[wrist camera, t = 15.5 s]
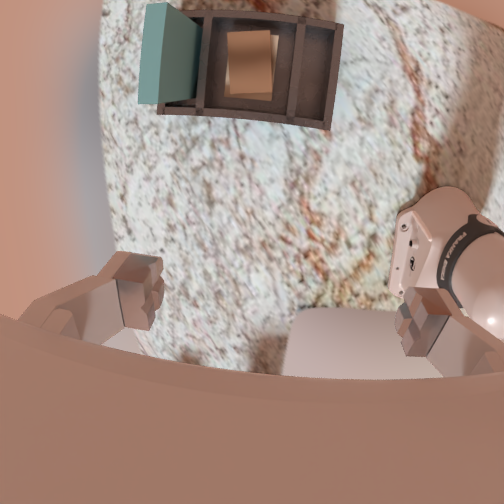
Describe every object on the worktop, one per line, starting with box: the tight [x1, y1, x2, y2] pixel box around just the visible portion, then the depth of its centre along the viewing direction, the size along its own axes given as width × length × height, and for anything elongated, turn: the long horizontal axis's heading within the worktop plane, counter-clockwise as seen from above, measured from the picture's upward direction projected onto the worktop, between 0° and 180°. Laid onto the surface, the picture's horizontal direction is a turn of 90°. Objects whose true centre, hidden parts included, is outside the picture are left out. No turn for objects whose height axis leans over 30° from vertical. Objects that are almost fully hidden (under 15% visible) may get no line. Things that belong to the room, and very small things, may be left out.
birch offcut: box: [224, 35, 279, 101], centre depth 36 cm, size 9×6×2 cm, turn 174°
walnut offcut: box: [227, 30, 272, 94], centre depth 33 cm, size 8×5×2 cm, turn 2°
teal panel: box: [138, 2, 203, 104], centre depth 30 cm, size 10×2×16 cm, turn 174°
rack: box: [157, 10, 344, 131], centre depth 35 cm, size 14×22×6 cm, turn 84°
